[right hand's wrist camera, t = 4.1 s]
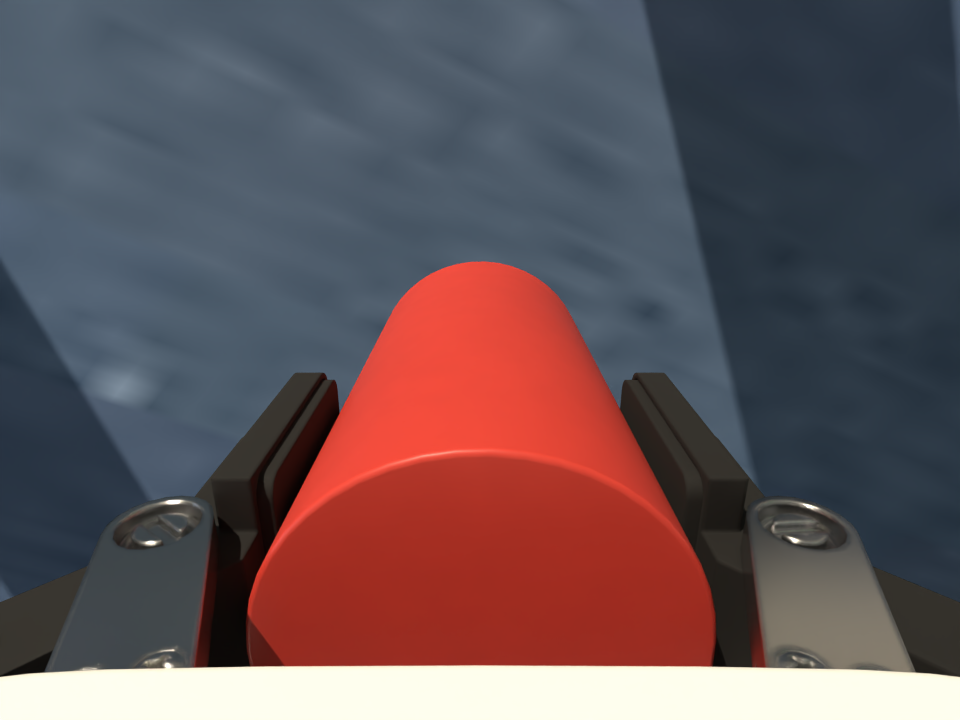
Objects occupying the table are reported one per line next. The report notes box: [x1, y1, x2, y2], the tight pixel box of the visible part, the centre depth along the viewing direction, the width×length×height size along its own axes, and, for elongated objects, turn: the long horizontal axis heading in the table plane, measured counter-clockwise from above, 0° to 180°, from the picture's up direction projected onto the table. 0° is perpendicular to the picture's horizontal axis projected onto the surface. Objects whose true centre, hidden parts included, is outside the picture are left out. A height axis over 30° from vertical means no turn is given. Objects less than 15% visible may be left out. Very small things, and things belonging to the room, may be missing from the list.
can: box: [246, 262, 716, 667], centre depth 12 cm, size 5×5×10 cm
